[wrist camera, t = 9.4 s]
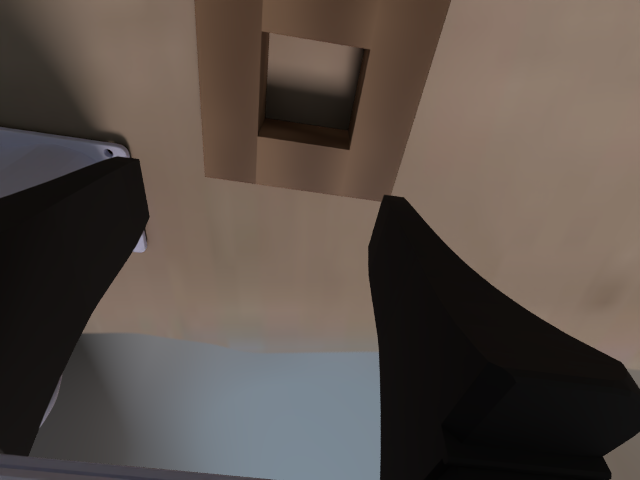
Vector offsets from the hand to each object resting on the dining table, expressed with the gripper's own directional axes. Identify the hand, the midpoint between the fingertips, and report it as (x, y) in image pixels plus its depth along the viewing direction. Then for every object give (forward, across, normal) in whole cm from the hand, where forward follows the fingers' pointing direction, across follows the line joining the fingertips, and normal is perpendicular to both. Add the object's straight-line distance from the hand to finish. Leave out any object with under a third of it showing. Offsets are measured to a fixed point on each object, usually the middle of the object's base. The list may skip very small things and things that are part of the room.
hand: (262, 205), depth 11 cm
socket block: (+10, -1, -1) cm, 10 cm away
